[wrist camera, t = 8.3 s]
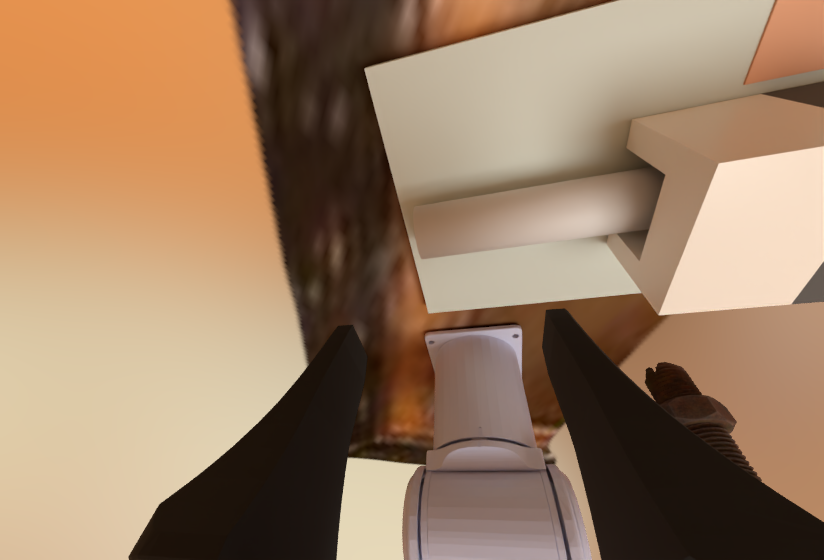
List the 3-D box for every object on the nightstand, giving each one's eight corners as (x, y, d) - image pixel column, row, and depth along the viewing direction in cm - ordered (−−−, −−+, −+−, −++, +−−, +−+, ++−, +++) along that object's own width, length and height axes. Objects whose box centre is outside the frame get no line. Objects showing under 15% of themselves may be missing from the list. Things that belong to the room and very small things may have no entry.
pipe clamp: (835, 262, 19) (956, 336, 15) (429, 304, 25) (425, 369, 20) (1156, -146, 10) (1811, -302, 5) (368, 66, 15) (334, 85, 10)
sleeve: (702, 232, 18) (791, 304, 13) (606, 244, 19) (658, 315, 14) (760, 94, 13) (922, 129, 9) (631, 119, 14) (718, 163, 10)
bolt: (700, 345, 25) (916, 617, 14) (699, 378, 28) (880, 628, 16) (620, 362, 27) (749, 609, 16) (627, 391, 30) (741, 620, 18)
